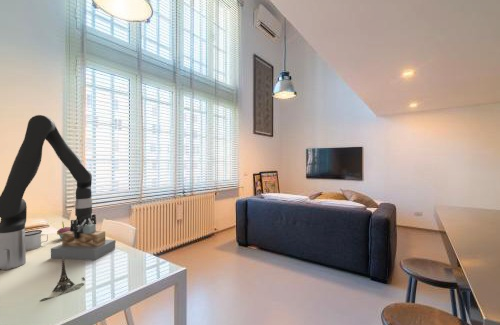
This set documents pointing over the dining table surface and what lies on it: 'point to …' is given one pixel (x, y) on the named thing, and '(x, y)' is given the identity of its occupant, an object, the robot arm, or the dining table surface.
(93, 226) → the crate
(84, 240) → the brown wooden box
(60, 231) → the cupcake
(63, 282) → the eiffel tower figurine
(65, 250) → the dock
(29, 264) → the dining table surface
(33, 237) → the mug
